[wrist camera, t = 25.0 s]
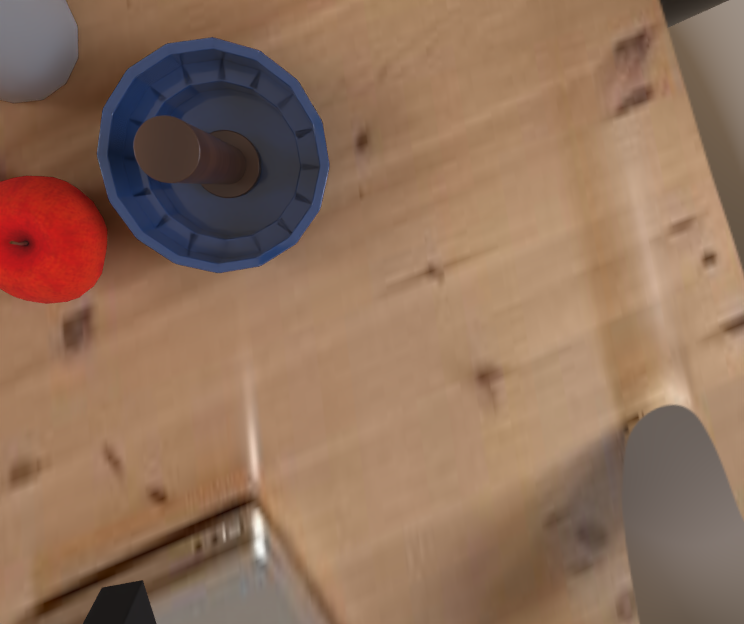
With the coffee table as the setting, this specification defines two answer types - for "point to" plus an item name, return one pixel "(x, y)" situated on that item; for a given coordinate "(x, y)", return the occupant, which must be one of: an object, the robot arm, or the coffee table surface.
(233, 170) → the cylinder with round base
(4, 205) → the apple
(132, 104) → the bowl
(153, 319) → the coffee table surface
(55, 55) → the cup
